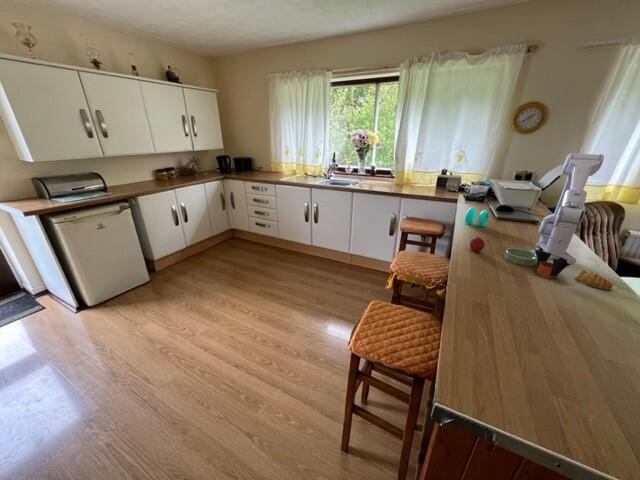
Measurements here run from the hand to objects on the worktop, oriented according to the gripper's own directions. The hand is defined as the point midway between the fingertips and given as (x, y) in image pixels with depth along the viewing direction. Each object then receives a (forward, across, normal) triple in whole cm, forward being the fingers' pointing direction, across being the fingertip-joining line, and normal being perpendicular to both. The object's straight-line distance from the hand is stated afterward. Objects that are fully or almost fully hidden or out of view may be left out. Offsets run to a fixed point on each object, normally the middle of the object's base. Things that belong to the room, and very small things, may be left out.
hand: (546, 271), depth 98 cm
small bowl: (+2, 0, 0) cm, 2 cm away
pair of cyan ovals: (+2, -58, +8) cm, 58 cm away
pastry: (+2, +6, +12) cm, 14 cm away
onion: (+2, -21, -15) cm, 26 cm away
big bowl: (+2, -12, -1) cm, 12 cm away
